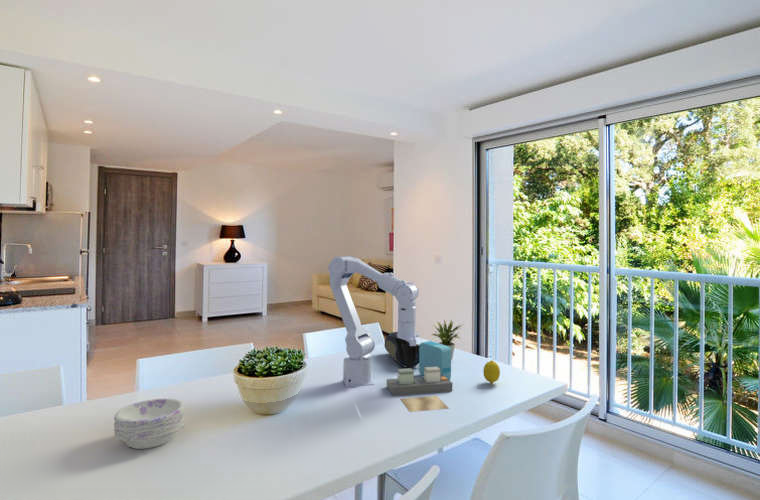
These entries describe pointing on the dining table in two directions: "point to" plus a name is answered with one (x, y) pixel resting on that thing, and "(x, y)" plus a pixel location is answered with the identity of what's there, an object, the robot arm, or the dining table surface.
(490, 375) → the lemon
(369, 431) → the dining table surface
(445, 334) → the house plant
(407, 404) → the cork mat
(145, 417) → the paper bowls
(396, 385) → the power strip
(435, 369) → the twin plug
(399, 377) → the plug
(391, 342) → the portable speaker
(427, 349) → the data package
